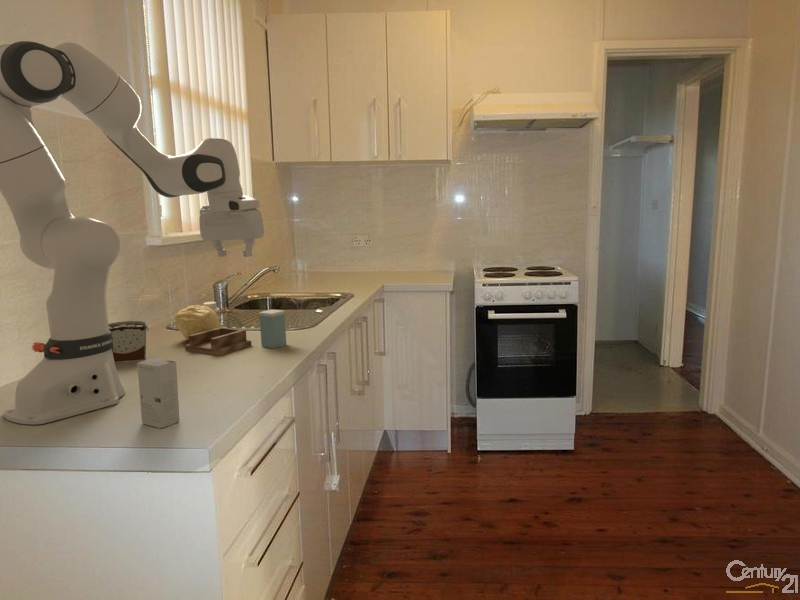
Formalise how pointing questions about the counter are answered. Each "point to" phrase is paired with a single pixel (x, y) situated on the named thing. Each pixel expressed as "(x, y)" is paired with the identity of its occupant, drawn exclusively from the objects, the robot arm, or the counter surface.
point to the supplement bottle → (214, 309)
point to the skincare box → (158, 392)
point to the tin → (272, 328)
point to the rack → (218, 341)
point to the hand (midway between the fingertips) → (235, 256)
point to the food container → (129, 340)
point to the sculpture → (196, 320)
